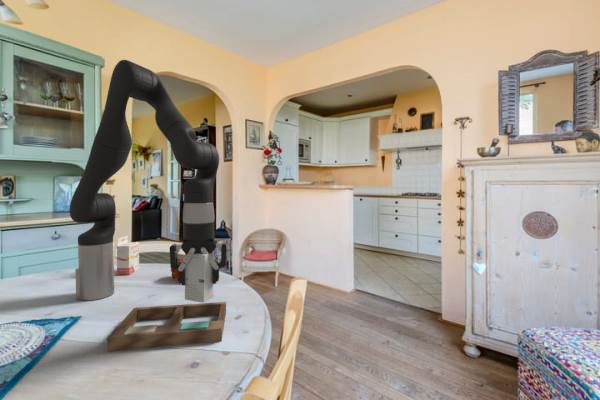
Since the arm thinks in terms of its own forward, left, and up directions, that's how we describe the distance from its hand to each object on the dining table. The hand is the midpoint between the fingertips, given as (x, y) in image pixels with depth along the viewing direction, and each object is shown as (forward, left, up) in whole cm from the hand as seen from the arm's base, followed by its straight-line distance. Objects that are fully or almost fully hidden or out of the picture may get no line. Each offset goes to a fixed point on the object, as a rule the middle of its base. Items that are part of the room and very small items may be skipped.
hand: (199, 283), depth 73 cm
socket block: (-6, -1, -11) cm, 12 cm away
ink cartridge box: (-36, +51, -11) cm, 63 cm away
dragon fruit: (-12, +38, -11) cm, 41 cm away
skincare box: (0, 0, -4) cm, 4 cm away
